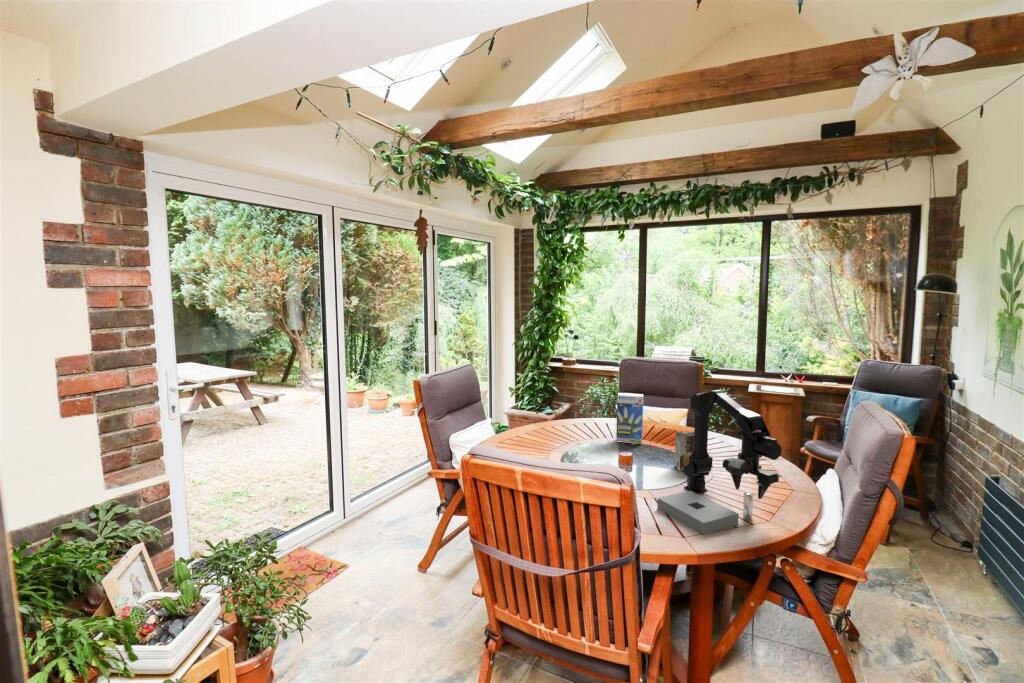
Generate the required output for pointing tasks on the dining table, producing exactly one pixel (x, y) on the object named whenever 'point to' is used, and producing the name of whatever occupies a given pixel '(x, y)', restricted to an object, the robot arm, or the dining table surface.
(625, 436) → the string lights box
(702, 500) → the hole block
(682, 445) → the coffee box
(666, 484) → the dining table surface
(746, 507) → the steel peg
